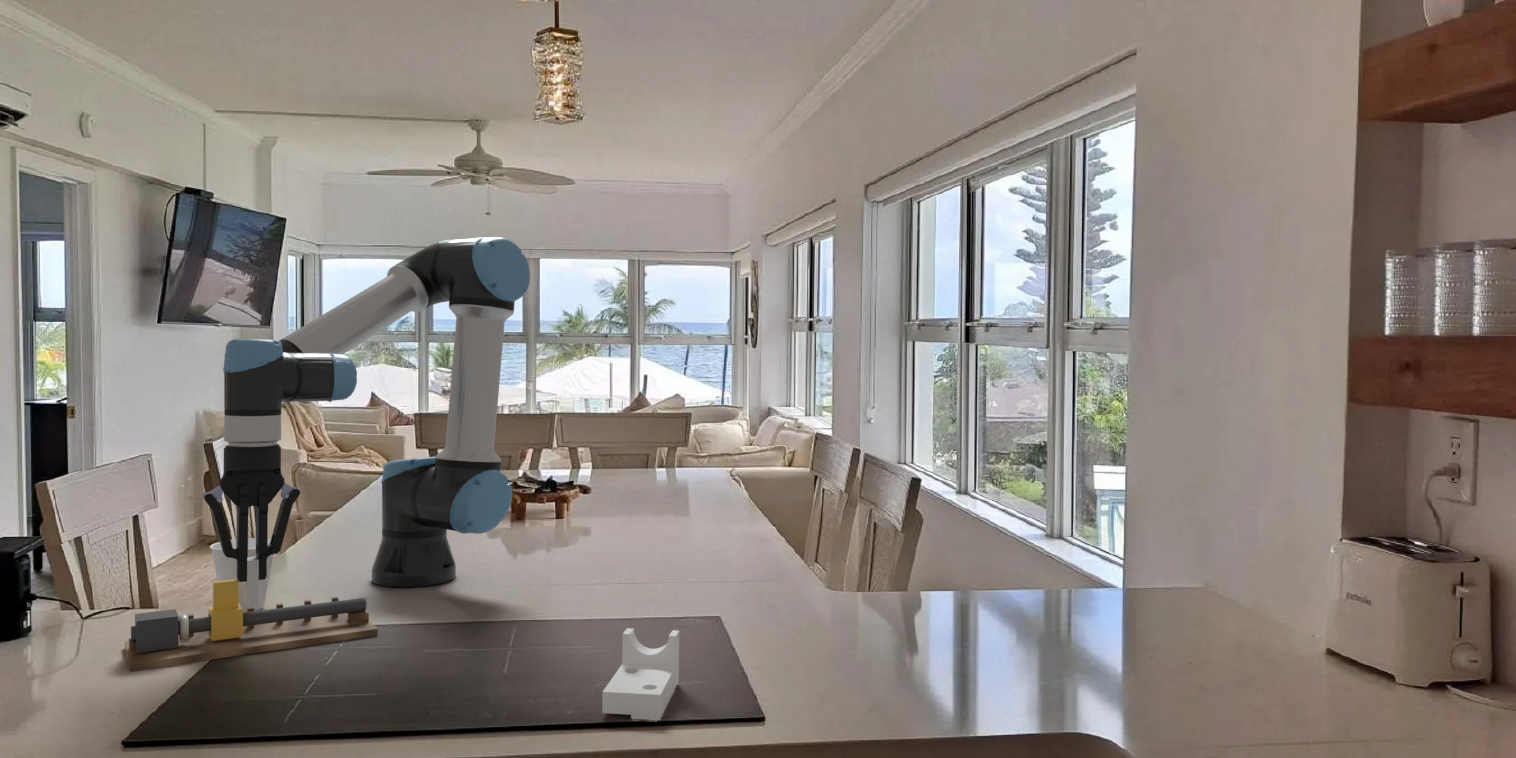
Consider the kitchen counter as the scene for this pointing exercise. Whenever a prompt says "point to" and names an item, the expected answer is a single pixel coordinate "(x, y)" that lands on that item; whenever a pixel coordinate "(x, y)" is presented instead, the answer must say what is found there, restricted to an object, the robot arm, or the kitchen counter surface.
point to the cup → (228, 571)
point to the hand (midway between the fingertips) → (251, 602)
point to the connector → (160, 630)
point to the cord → (280, 614)
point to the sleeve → (225, 611)
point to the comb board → (256, 639)
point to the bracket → (643, 679)
